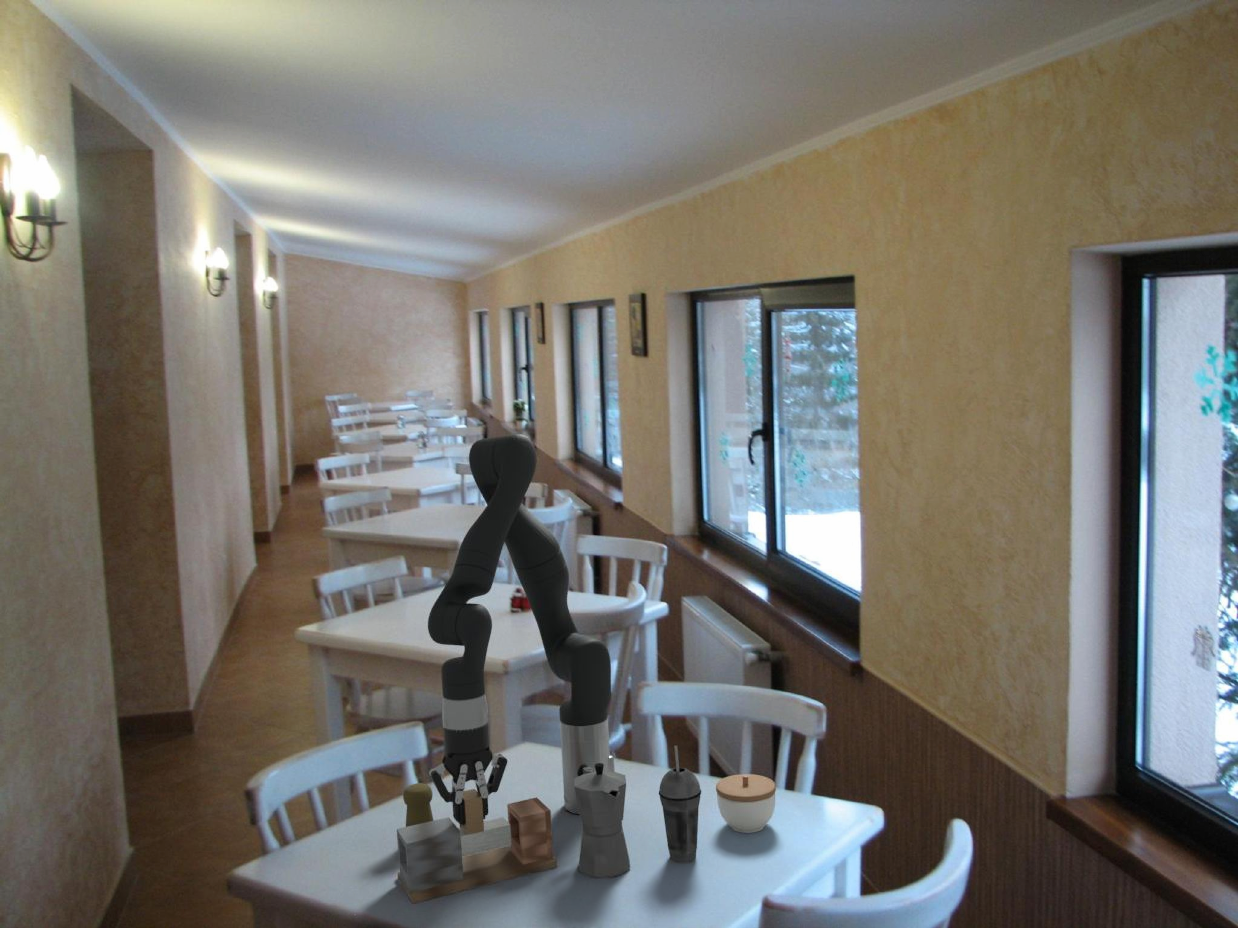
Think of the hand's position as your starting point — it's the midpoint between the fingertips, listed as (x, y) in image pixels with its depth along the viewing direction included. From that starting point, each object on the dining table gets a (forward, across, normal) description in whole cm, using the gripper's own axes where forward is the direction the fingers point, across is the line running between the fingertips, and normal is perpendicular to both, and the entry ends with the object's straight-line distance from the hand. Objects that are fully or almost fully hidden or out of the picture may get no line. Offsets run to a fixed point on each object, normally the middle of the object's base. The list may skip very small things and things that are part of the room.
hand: (471, 819), depth 187 cm
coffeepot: (+9, -20, +8) cm, 24 cm away
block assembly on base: (+9, 0, 0) cm, 9 cm away
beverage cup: (+9, -33, +13) cm, 37 cm away
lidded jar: (+9, -49, +8) cm, 51 cm away
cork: (+10, +5, -16) cm, 19 cm away
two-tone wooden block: (+5, +2, 0) cm, 6 cm away
